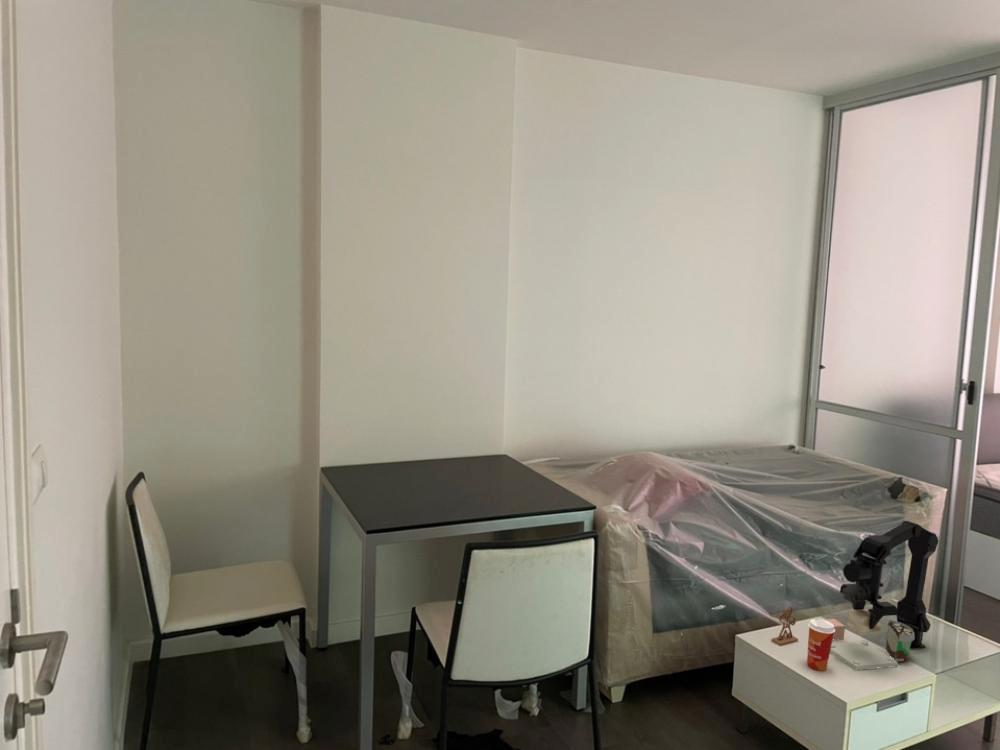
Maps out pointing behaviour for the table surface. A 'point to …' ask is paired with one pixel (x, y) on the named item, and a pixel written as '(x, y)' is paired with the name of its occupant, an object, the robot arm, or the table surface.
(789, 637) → the brown figurine
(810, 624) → the paper cup
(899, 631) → the food container
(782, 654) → the table surface
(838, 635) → the terracotta brick
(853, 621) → the birch brick
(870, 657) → the build plate
